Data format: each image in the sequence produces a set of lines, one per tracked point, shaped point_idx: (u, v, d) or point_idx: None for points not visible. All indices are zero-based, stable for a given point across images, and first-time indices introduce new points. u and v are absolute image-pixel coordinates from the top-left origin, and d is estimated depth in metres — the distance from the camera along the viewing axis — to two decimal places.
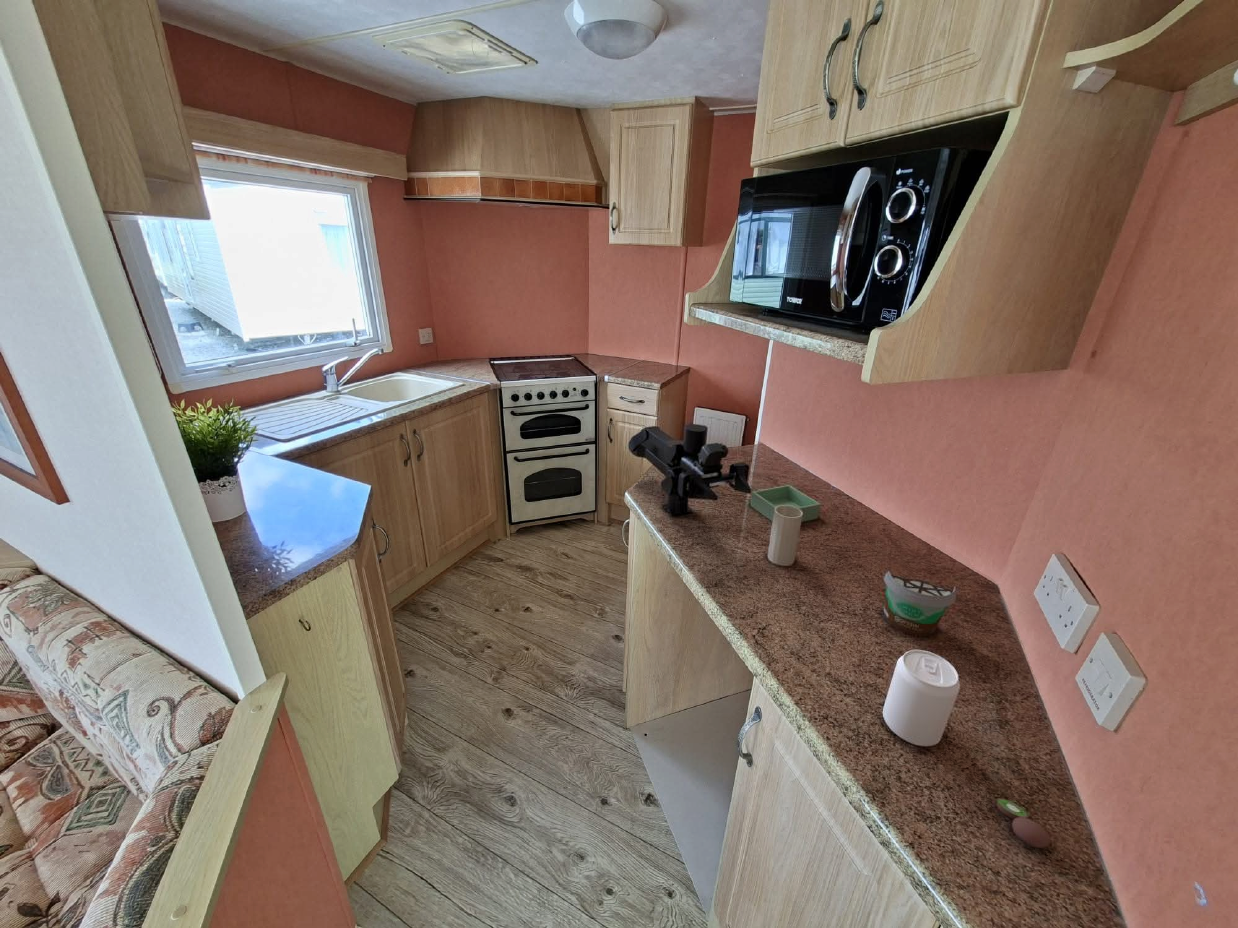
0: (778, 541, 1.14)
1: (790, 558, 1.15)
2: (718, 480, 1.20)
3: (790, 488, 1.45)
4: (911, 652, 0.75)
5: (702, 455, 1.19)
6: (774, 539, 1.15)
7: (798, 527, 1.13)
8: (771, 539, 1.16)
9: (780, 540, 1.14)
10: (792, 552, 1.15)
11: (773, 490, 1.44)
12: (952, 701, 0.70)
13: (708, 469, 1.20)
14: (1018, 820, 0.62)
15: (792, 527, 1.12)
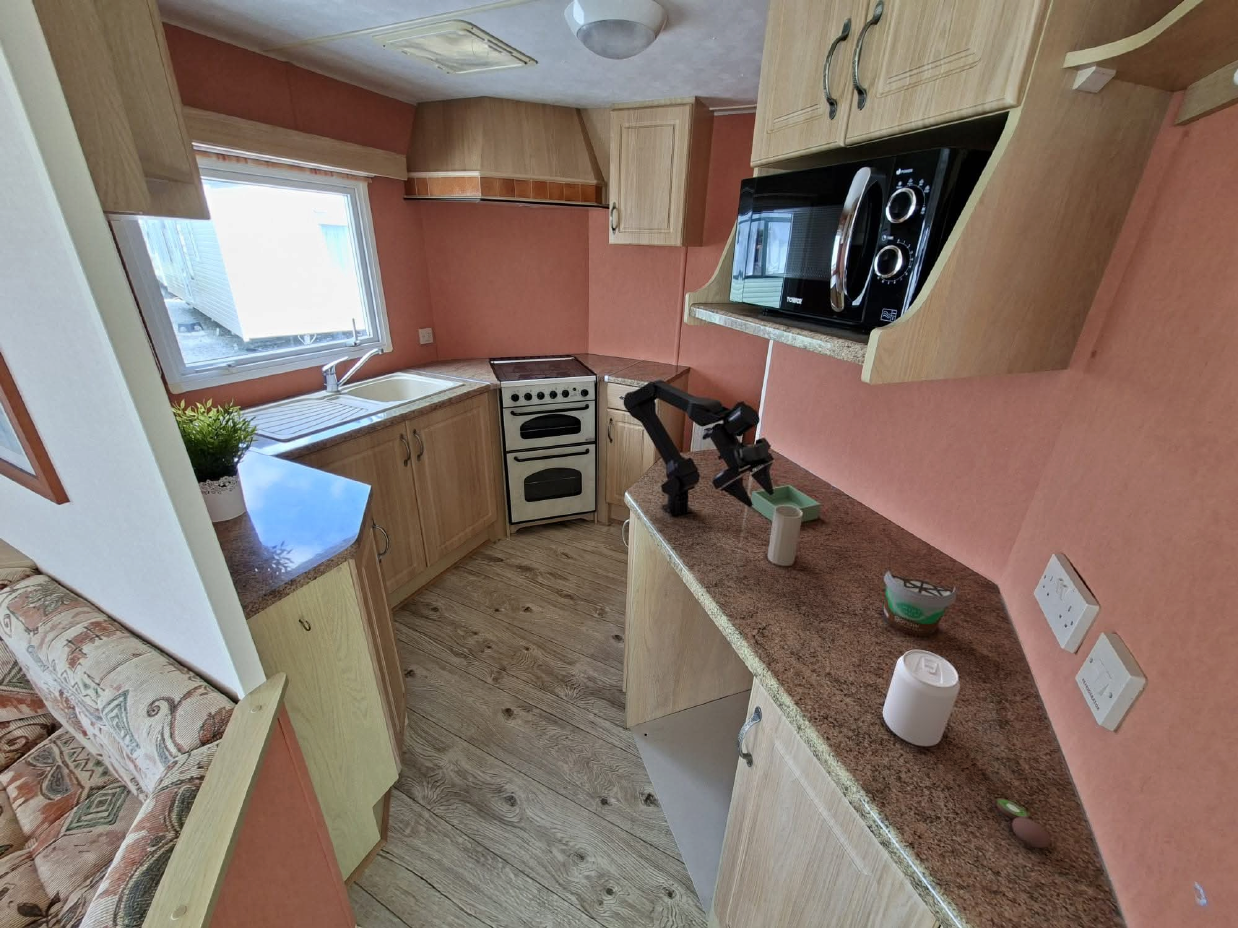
0: (778, 541, 1.14)
1: (790, 558, 1.15)
2: (746, 471, 1.21)
3: (790, 488, 1.45)
4: (911, 652, 0.75)
5: (749, 453, 1.15)
6: (774, 539, 1.15)
7: (798, 527, 1.13)
8: (771, 539, 1.16)
9: (780, 540, 1.14)
10: (792, 552, 1.15)
11: (773, 490, 1.44)
12: (952, 701, 0.70)
13: (745, 463, 1.18)
14: (1018, 820, 0.62)
15: (792, 527, 1.12)
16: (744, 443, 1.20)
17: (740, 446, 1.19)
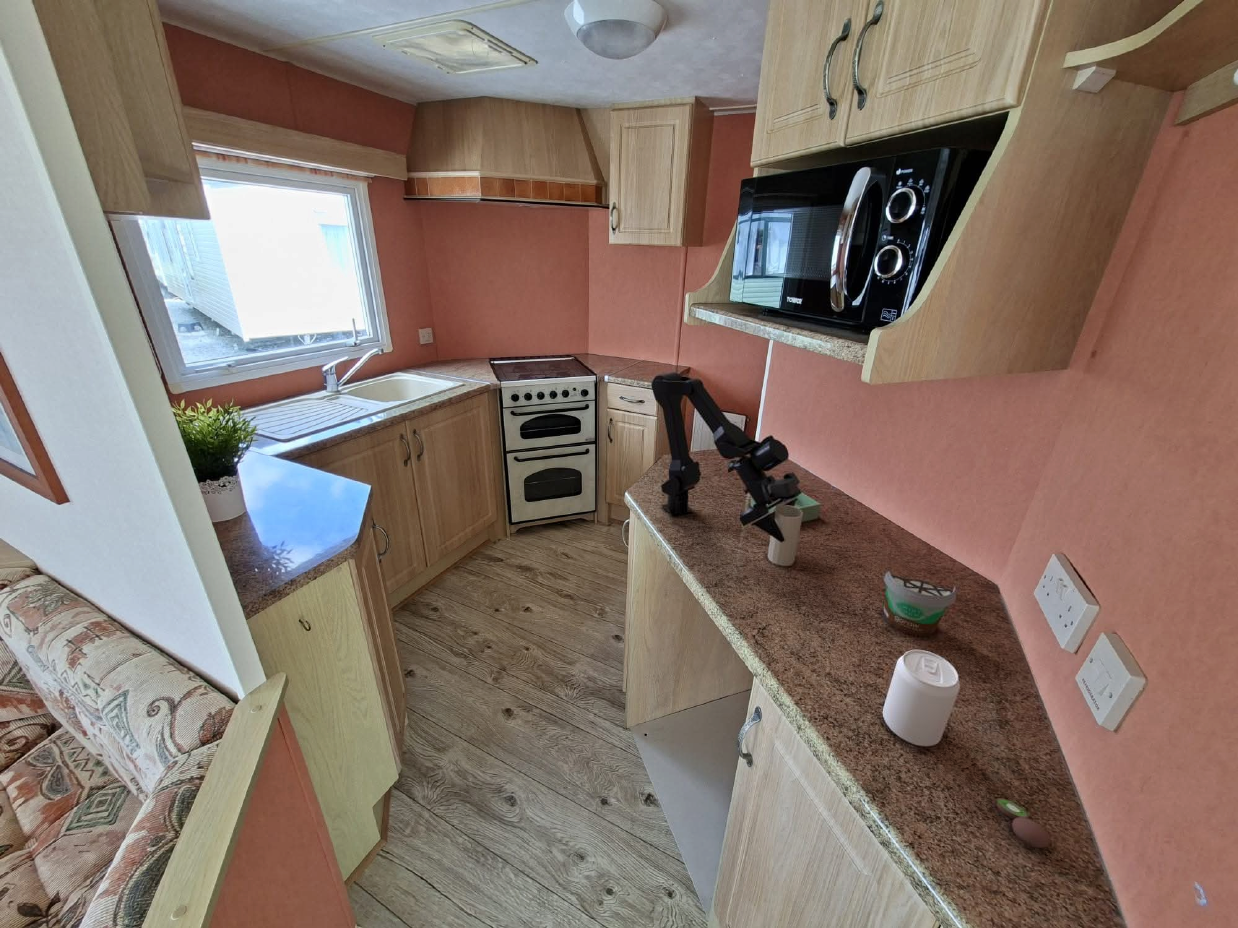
0: (778, 541, 1.14)
1: (790, 558, 1.15)
2: None
3: None
4: (911, 652, 0.75)
5: (777, 489, 1.12)
6: (774, 539, 1.15)
7: (798, 527, 1.13)
8: (771, 539, 1.16)
9: None
10: (792, 552, 1.15)
11: None
12: (952, 701, 0.70)
13: (773, 498, 1.15)
14: (1018, 820, 0.62)
15: (792, 527, 1.12)
16: (771, 477, 1.17)
17: (768, 481, 1.16)
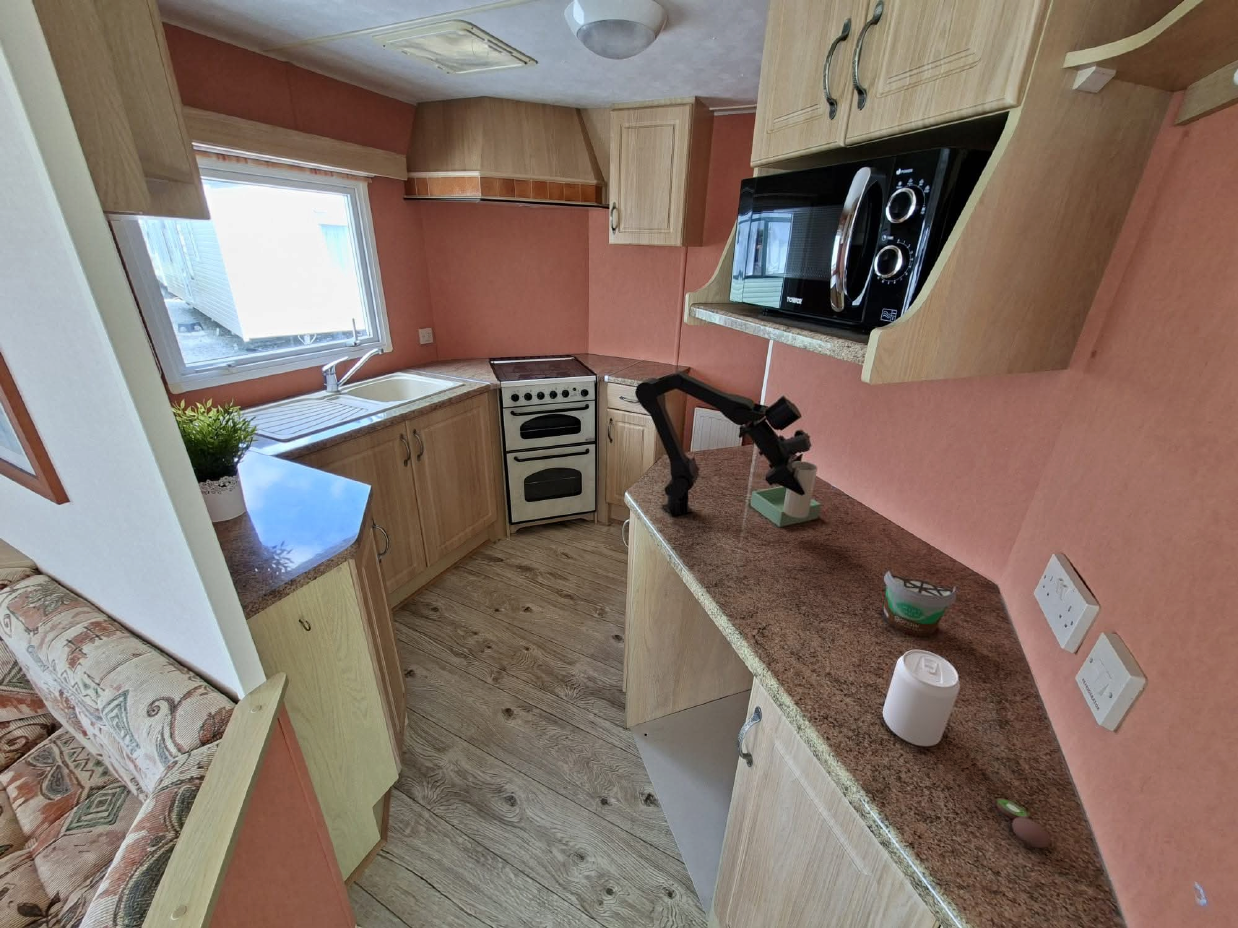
0: (798, 495, 1.22)
1: (808, 509, 1.24)
2: None
3: None
4: (911, 652, 0.75)
5: (796, 446, 1.18)
6: (794, 494, 1.22)
7: (814, 479, 1.21)
8: (789, 495, 1.23)
9: None
10: (809, 503, 1.23)
11: (773, 490, 1.44)
12: (952, 701, 0.70)
13: None
14: (1018, 820, 0.62)
15: (811, 479, 1.20)
16: (782, 437, 1.23)
17: (781, 440, 1.22)
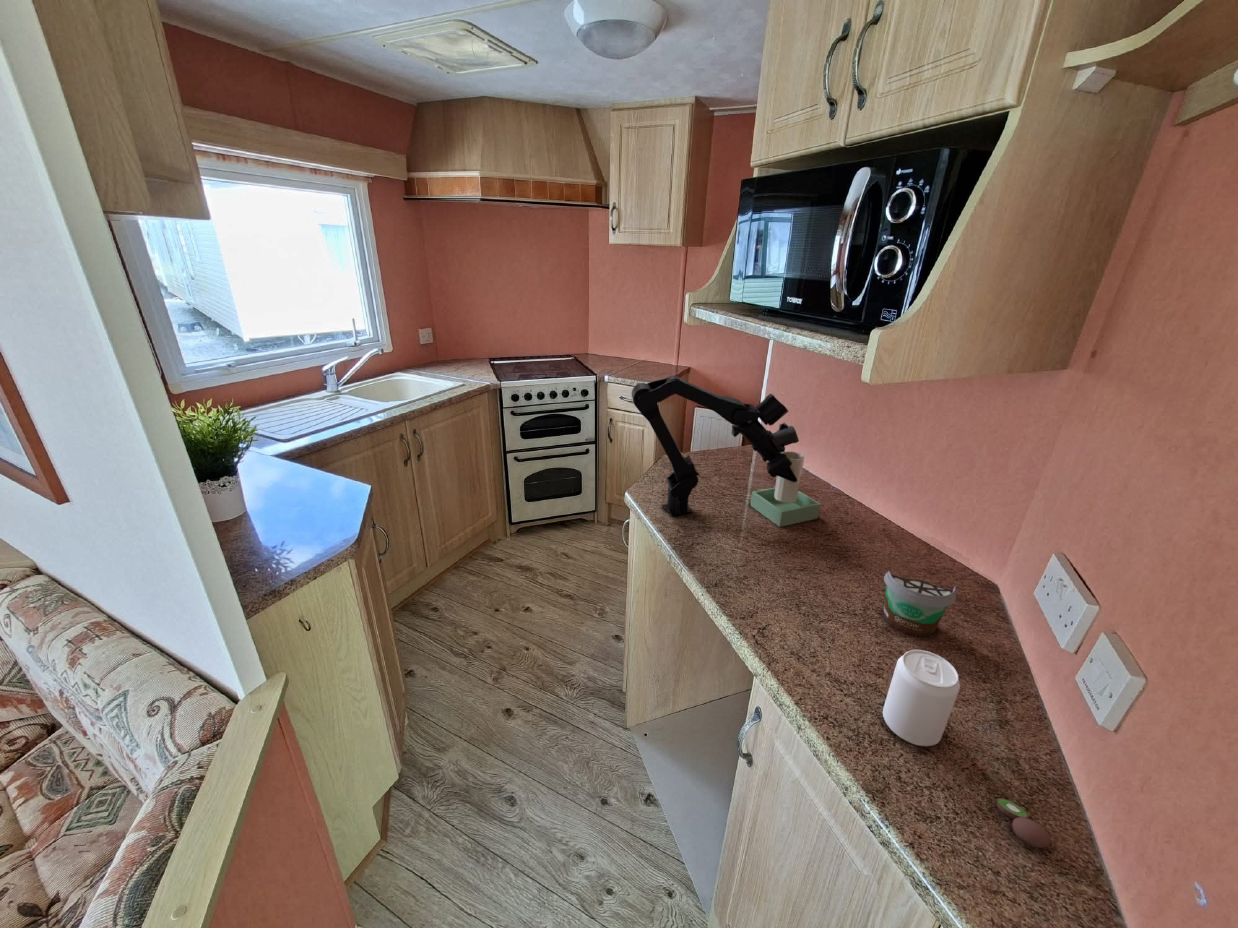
0: (791, 482, 1.34)
1: (797, 494, 1.37)
2: None
3: None
4: (911, 652, 0.75)
5: (788, 438, 1.30)
6: (787, 482, 1.34)
7: None
8: (782, 483, 1.35)
9: None
10: (798, 488, 1.36)
11: (773, 490, 1.44)
12: (952, 701, 0.70)
13: None
14: (1018, 820, 0.62)
15: (801, 467, 1.33)
16: (770, 431, 1.34)
17: (770, 434, 1.33)
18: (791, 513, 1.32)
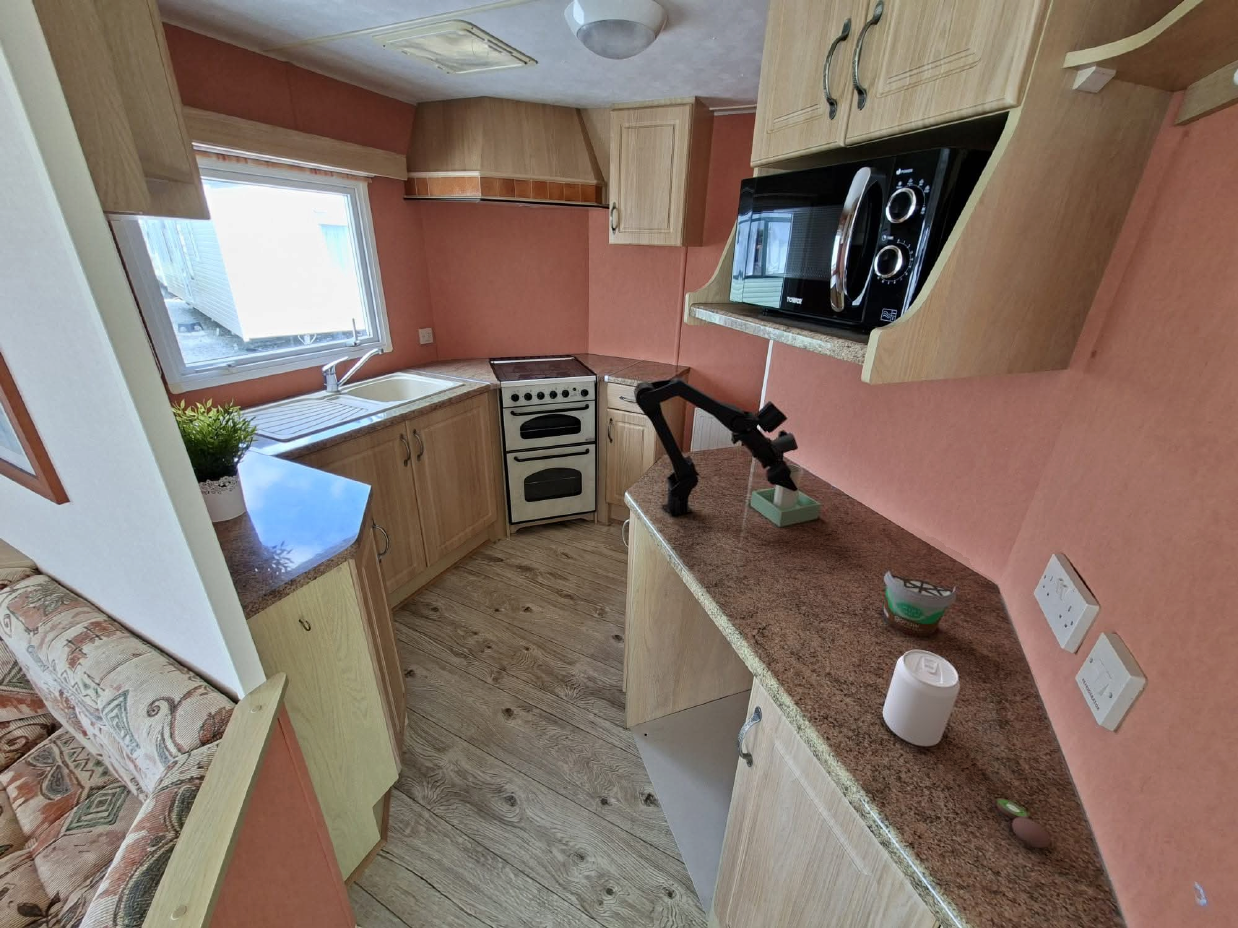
0: (789, 495, 1.35)
1: None
2: None
3: None
4: (911, 652, 0.75)
5: (787, 445, 1.30)
6: (785, 495, 1.35)
7: (800, 479, 1.36)
8: (780, 496, 1.36)
9: (791, 494, 1.35)
10: None
11: (773, 490, 1.44)
12: (952, 701, 0.70)
13: None
14: (1018, 820, 0.62)
15: (799, 480, 1.34)
16: (769, 438, 1.35)
17: (770, 442, 1.33)
18: (791, 513, 1.32)
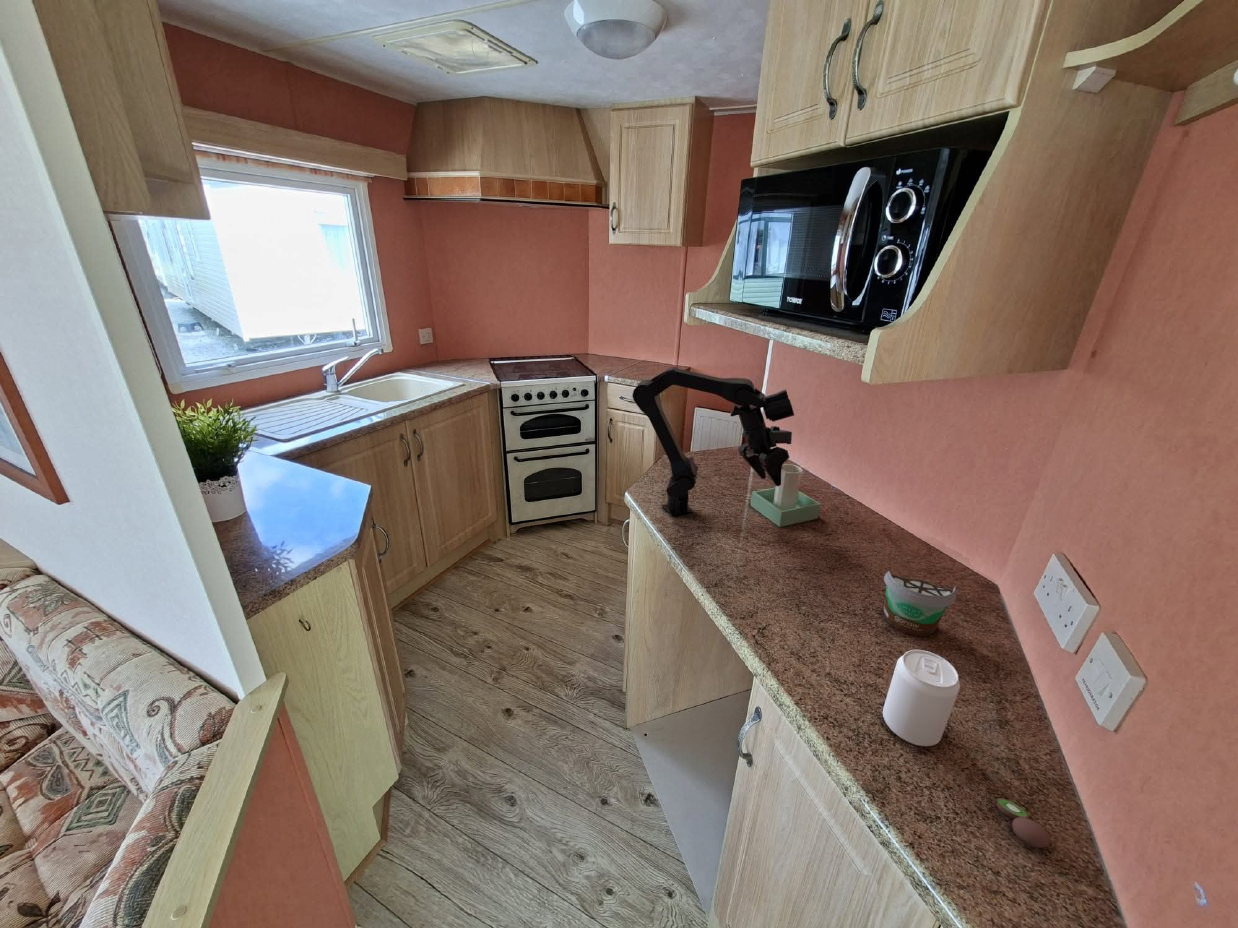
0: (789, 495, 1.35)
1: None
2: None
3: None
4: (911, 652, 0.75)
5: (784, 437, 1.25)
6: (785, 495, 1.35)
7: (800, 479, 1.36)
8: (780, 496, 1.36)
9: (791, 494, 1.35)
10: None
11: (773, 490, 1.44)
12: (952, 701, 0.70)
13: None
14: (1018, 820, 0.62)
15: (799, 480, 1.34)
16: None
17: None
18: (791, 513, 1.32)
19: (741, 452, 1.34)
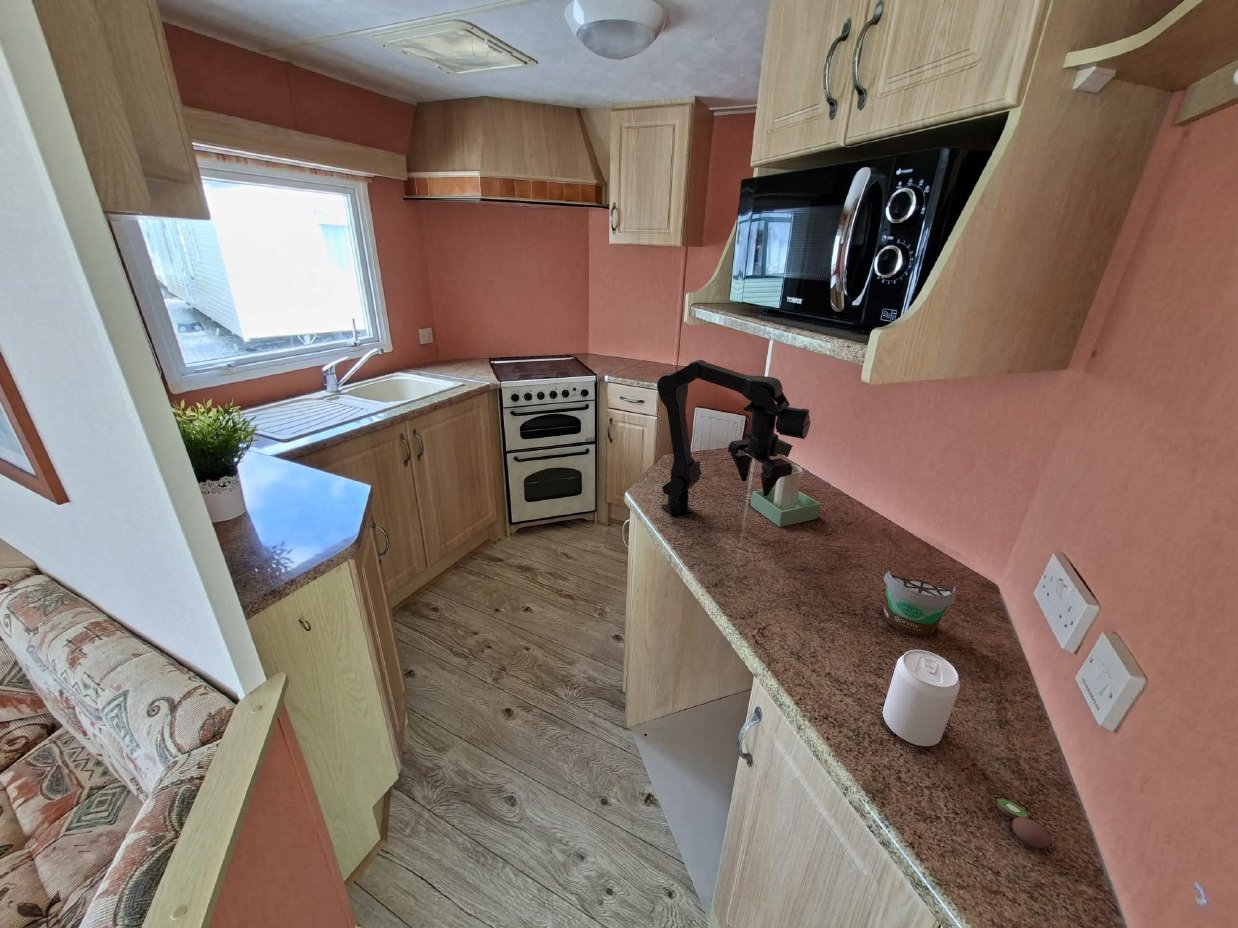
0: (789, 495, 1.35)
1: None
2: None
3: None
4: (911, 652, 0.75)
5: (785, 448, 1.21)
6: (785, 495, 1.35)
7: (800, 479, 1.36)
8: (780, 496, 1.36)
9: (791, 494, 1.35)
10: None
11: (773, 490, 1.44)
12: (952, 701, 0.70)
13: None
14: (1018, 820, 0.62)
15: (799, 480, 1.34)
16: None
17: None
18: (791, 513, 1.32)
19: (732, 449, 1.26)
